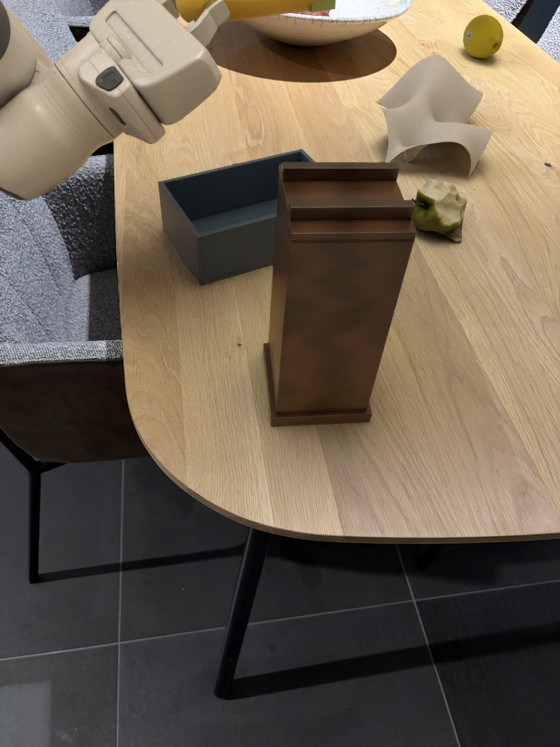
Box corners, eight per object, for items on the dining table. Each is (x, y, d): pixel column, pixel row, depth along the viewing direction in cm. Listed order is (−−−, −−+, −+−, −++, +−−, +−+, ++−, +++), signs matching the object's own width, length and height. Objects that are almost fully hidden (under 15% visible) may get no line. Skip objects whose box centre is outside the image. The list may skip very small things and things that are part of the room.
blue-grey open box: (199, 286, 79) (196, 237, 73) (163, 230, 86) (157, 181, 80) (342, 243, 87) (350, 196, 81) (297, 195, 94) (302, 148, 88)
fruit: (411, 252, 88) (412, 203, 83) (400, 219, 95) (401, 171, 89) (475, 244, 87) (480, 194, 82) (460, 211, 94) (464, 163, 88)
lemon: (454, 46, 136) (464, 6, 129) (487, 47, 136) (499, 8, 130) (466, 67, 129) (478, 26, 122) (501, 68, 129) (515, 28, 123)
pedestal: (270, 426, 65) (286, 224, 45) (262, 351, 72) (273, 148, 52) (370, 422, 66) (428, 223, 46) (352, 348, 73) (397, 148, 53)
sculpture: (488, 182, 99) (509, 125, 92) (374, 172, 99) (386, 114, 92) (468, 110, 116) (484, 57, 108) (370, 101, 116) (379, 47, 108)
